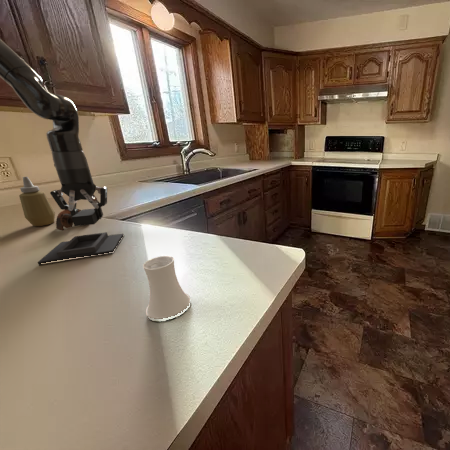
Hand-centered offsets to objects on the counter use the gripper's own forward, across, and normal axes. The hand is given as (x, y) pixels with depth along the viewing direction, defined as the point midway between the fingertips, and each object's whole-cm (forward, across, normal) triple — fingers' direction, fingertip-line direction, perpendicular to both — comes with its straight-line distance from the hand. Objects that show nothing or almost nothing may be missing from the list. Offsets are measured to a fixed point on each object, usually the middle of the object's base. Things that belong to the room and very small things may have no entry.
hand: (89, 219), depth 80 cm
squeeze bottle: (+6, +22, -23) cm, 32 cm away
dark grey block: (0, 0, 0) cm, 0 cm away
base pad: (+6, -1, +12) cm, 13 cm away
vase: (+6, -26, +52) cm, 58 cm away
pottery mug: (+6, +10, -14) cm, 18 cm away
